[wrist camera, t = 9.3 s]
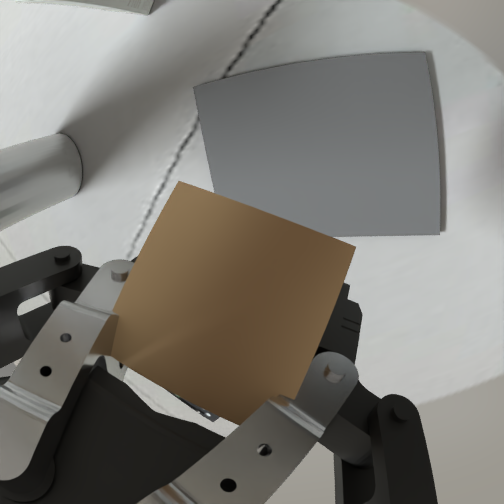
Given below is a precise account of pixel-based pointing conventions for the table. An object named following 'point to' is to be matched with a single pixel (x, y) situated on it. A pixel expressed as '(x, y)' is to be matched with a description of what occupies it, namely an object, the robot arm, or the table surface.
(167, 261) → the oak block
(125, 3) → the supplement box
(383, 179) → the rubber mat
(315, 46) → the table surface
